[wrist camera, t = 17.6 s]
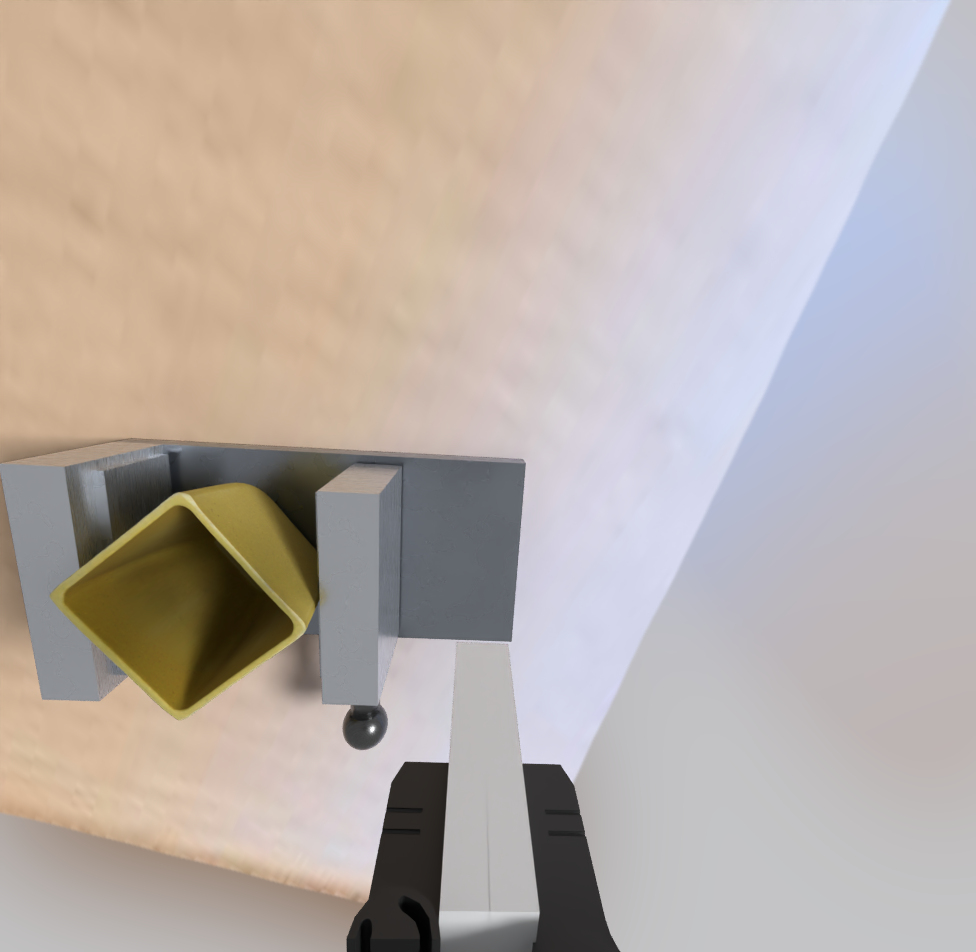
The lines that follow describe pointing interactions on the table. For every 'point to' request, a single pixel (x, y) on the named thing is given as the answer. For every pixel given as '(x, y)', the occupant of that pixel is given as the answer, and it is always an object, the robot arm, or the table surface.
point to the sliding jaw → (359, 593)
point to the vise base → (291, 485)
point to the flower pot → (196, 594)
